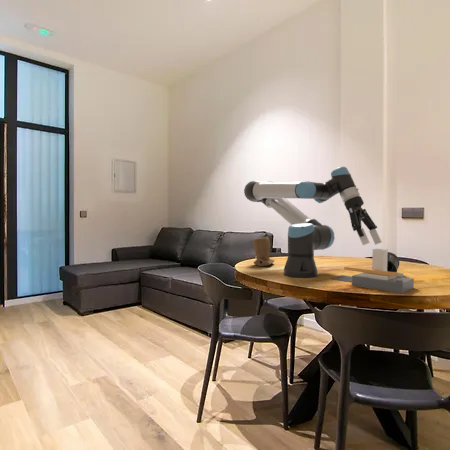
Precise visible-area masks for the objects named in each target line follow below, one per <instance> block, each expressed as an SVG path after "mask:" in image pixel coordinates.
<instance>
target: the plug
mask: <svg viewBox="0 0 450 450" xmlns="http://www.w3.org/2000/svg"><path fill="white" fill-rule="evenodd" d="M388 252H389V251H388V249H383V248H374V249H372V255H371V256H372V257H371V258H372V259H371V260H372V261H371V262H372V264H371V265H372V267H371V269H373V270H381V271H387V255H388ZM362 273H363V277H368V278H375V279H381V280H390V279H393V278H395V277H394V276H387V275H379V274H372V273H365V272H362Z"/></svg>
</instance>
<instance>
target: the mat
mask: <svg viewBox="0 0 450 450" xmlns="http://www.w3.org/2000/svg"><path fill="white" fill-rule="evenodd" d="M330 280H332V281H333V280H335V281H340V282H346V283H352V276H350V275H343V274H341V275H338V276H335V277H332V278H331V277H330Z"/></svg>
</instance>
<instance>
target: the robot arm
mask: <svg viewBox="0 0 450 450" xmlns="http://www.w3.org/2000/svg"><path fill="white" fill-rule="evenodd" d="M330 177H331V178H329V179H328V180H327V181H325V182H315V181H310V180H309V181H308V180H305V181H303V180H302V181H293V182H292V181H291V182H272V181H262V180H251V181H249V182H247V183H246V185H245V186H244V189H243V193H244V196H245V198H246V199H247V200H248V201H250V202H254V203H262V204H263V205H264V206H265V207H267V208H268V209H273V210H274V211H275V212H276V213H277V214H278V215H280V216H281V217H282V218H283V219H284V220H285V221H286V222H287V223H289V224H290V225H289V227H288V231H287V259H286V261H285V265H284V268H283V274H284V275H285V276H289V277H295V278H313V277H317V276H318V275H319V274H318V273H319V271H318V268H317V264H316V262H315V256H314V253H315V251H318V250H325V249H328V248H331V246H332V245H333V244H334V242H335V239H336V238H335V232H334V230H333V229H332V227H331V226H329V225H326V224H324V225H323V224H322V223H320V222H319V221H318V220H317V219H316V218H310V217H309V216H307V215H306V214H305V213H304V212H303V211H302V210H300V209H299V208H298V207H297V206H295V205H294V204H293V203H292V202H290V201H289V200H288V199H303V200H304V199H307V200H311V199H312V200H314V201H315V202H316V203H318V204H322V203H324V202H327V201H328V200H329V199H331V198H333V197H335V196H336V195H337V194H339V196H340V198H341V200H342V202H343V204H344V207H345V210H347V212H348V214H349V215H348V216H349V218H350V222H351V223H350V224H351V227H352V230H353V232H356V233H357V235H358V238H359V240H360V242H361V244H362V246H366V245H367V244H369V243H370V240H369V238H368V236H367V233H366V231H365V229H364V228H363V227H362V223H363V224H364V225H365V226H366V228H367V229H368V230H369V231H368V232H369V235H370V236H371V239H372V241H373V243H374V245H379V244H381V243H382V242H383V241H382V239H381V237H380V235H379V233H378V231H377V229H378V226H377V225H376V223H375V222H374V221H373V218H372V217H371V216H370V215H369V213H368V212H367V210H366V208H362V206H364V204H365V203H364V200H363V198H362V196H360V195H361V194H360V192H359V190H360V189H359V188H358V187H357V185H356V184H355V181H354V180H353V177H352V174H351V173H350V171H349V170H348V168H347V167H346V166H339V167H337V168H335V169H333V170H332V171H331V173H330Z"/></svg>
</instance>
